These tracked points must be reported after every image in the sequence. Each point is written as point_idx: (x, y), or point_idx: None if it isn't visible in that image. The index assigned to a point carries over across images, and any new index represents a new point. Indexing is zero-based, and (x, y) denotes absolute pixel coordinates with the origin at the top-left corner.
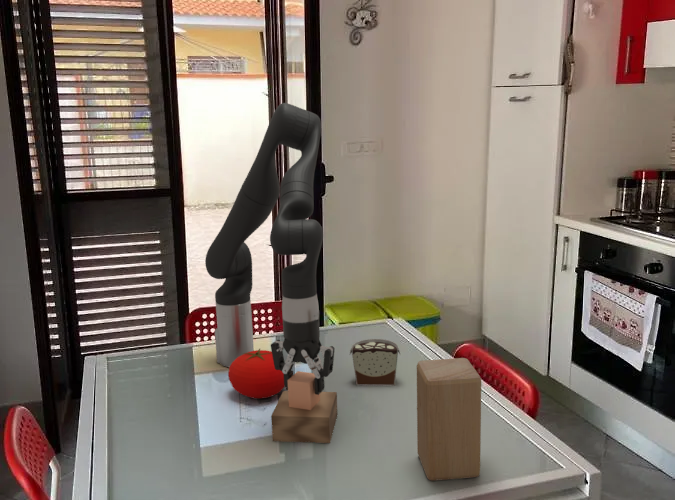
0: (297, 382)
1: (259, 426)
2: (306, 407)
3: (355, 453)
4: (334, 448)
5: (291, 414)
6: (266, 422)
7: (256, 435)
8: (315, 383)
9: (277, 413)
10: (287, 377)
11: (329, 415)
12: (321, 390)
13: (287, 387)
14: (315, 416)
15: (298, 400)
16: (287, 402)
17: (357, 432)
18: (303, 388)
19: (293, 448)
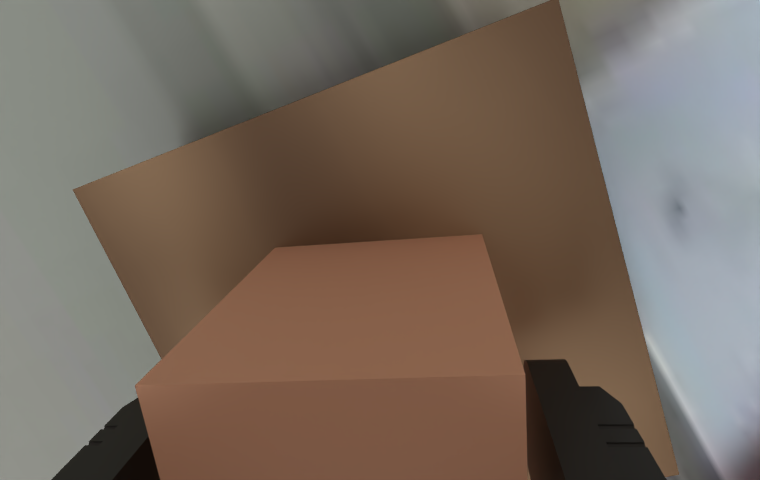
0: (336, 369)
1: (700, 167)
2: (305, 249)
3: (4, 112)
4: (127, 113)
5: (382, 110)
6: (676, 232)
7: (664, 48)
8: (125, 444)
9: (518, 69)
10: (583, 469)
11: (91, 222)
12: (126, 405)
13: (555, 372)
14: (175, 163)
15: (374, 265)
16: (536, 301)
17: (124, 315)
18: (268, 333)
19: (338, 4)
